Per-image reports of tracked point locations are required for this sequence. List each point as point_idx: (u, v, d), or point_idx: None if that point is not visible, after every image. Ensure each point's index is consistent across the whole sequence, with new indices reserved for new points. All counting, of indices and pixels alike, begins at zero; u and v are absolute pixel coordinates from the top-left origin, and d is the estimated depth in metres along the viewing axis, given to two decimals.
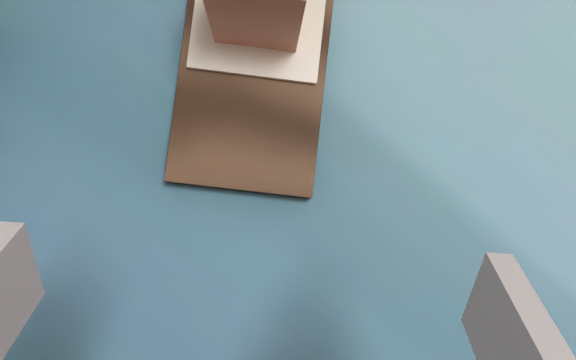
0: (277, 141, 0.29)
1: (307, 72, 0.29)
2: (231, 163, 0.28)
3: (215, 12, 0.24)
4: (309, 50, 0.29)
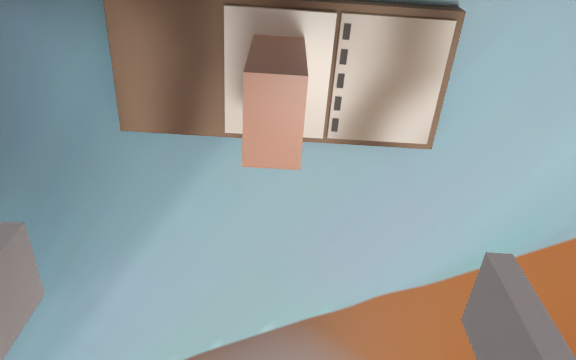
0: (166, 98, 0.30)
1: (234, 124, 0.30)
2: (135, 56, 0.28)
3: None
4: None
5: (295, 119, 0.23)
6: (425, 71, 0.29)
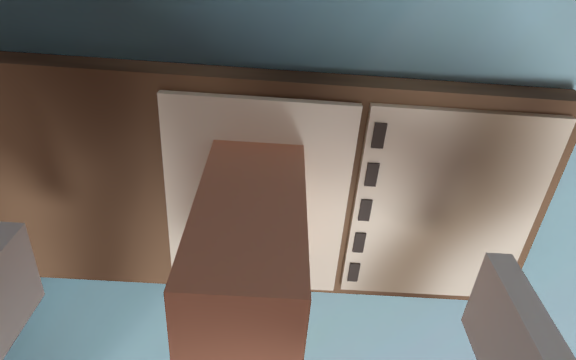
0: (73, 231, 0.18)
1: None
2: (12, 169, 0.17)
3: None
4: None
5: None
6: (512, 197, 0.17)
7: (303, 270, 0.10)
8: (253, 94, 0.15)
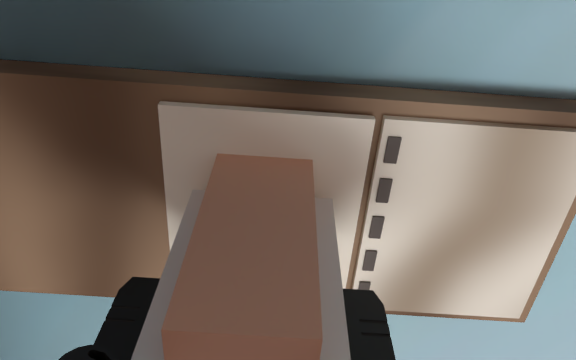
0: (70, 246, 0.17)
1: None
2: (6, 182, 0.16)
3: None
4: None
5: None
6: (532, 214, 0.16)
7: (313, 304, 0.09)
8: (259, 106, 0.14)
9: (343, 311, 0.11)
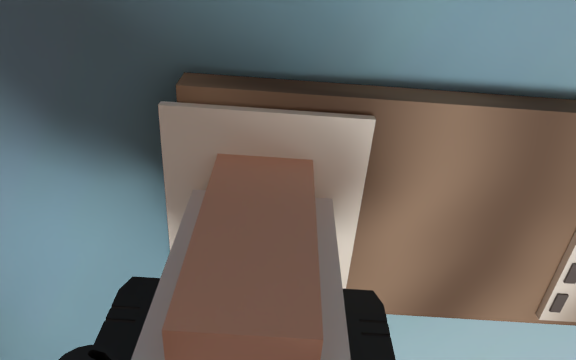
0: None
1: None
2: None
3: None
4: None
5: None
6: None
7: (314, 304, 0.09)
8: (502, 123, 0.14)
9: (343, 311, 0.11)
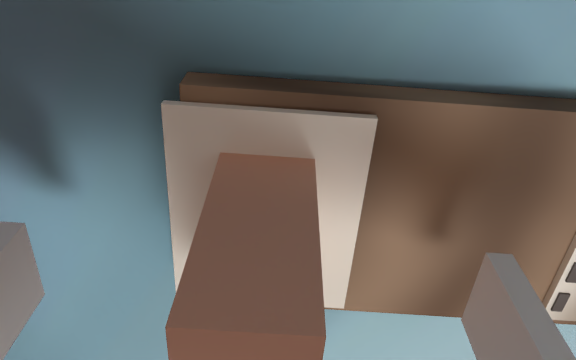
0: None
1: None
2: None
3: None
4: None
5: None
6: None
7: (316, 302, 0.09)
8: (504, 122, 0.14)
9: None
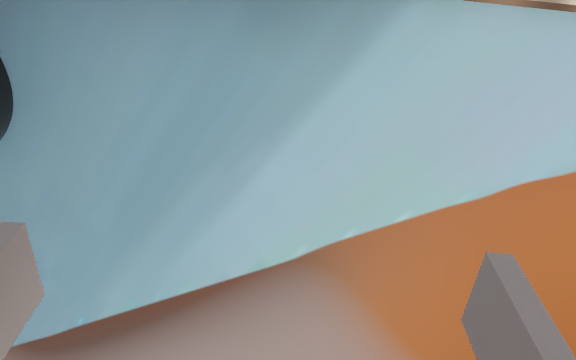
0: None
1: None
2: None
3: None
4: None
5: None
6: None
7: None
8: None
9: None
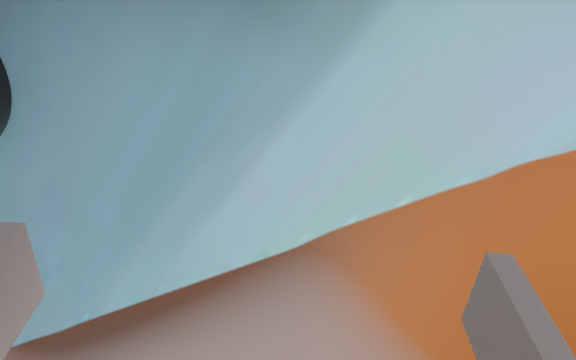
0: None
1: None
2: None
3: None
4: None
5: None
6: None
7: None
8: None
9: None
